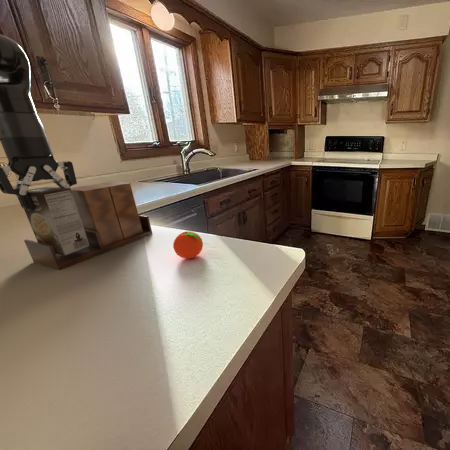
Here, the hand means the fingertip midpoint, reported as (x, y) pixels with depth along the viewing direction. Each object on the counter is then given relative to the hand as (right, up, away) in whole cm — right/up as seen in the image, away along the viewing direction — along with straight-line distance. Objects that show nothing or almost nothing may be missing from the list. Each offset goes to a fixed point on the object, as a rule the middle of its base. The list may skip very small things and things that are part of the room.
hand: (50, 206), depth 61 cm
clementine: (+34, -13, +3) cm, 37 cm away
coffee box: (0, -11, +4) cm, 12 cm away
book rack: (+3, -11, +11) cm, 16 cm away
